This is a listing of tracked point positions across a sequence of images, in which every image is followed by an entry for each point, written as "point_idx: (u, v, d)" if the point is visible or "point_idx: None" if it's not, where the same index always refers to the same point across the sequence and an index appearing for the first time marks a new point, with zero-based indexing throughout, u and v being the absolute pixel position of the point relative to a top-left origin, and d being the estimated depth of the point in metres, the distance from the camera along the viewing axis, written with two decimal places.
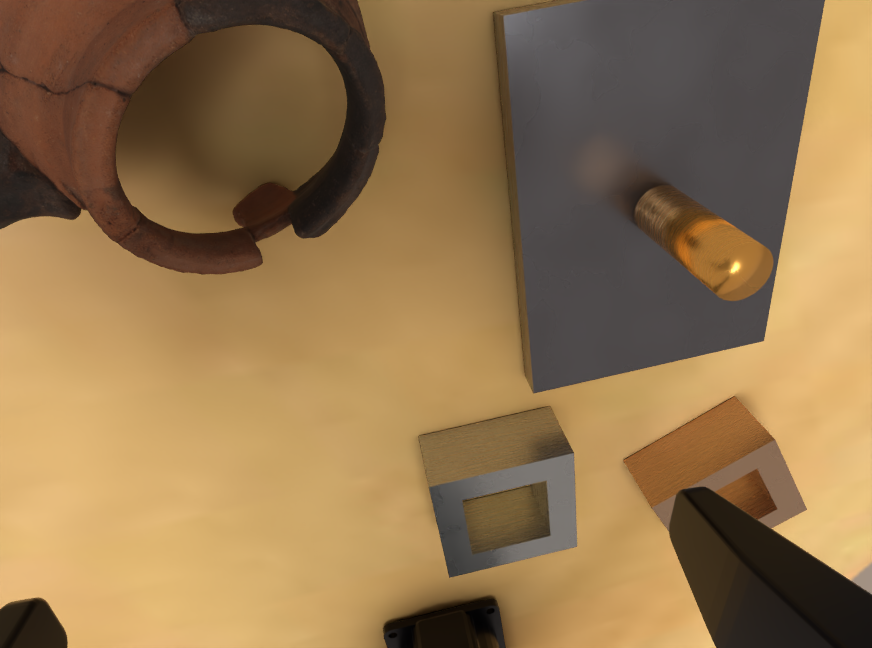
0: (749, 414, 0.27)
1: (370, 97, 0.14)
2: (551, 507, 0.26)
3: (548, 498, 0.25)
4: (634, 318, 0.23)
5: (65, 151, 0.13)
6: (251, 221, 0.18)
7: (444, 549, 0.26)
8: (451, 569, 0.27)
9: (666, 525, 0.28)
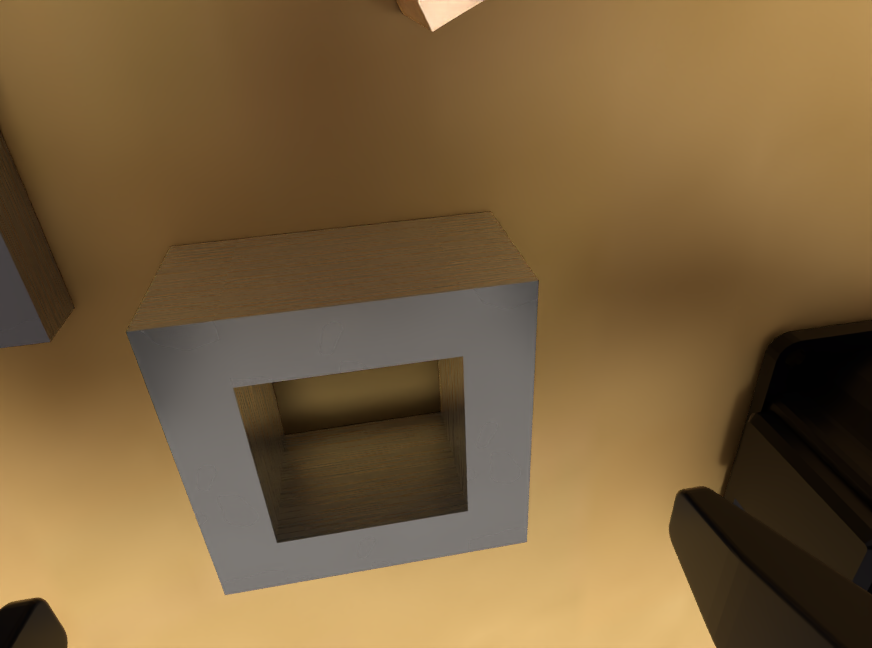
0: None
1: None
2: (344, 366, 0.09)
3: (309, 374, 0.09)
4: None
5: None
6: None
7: (429, 556, 0.12)
8: (499, 541, 0.12)
9: None
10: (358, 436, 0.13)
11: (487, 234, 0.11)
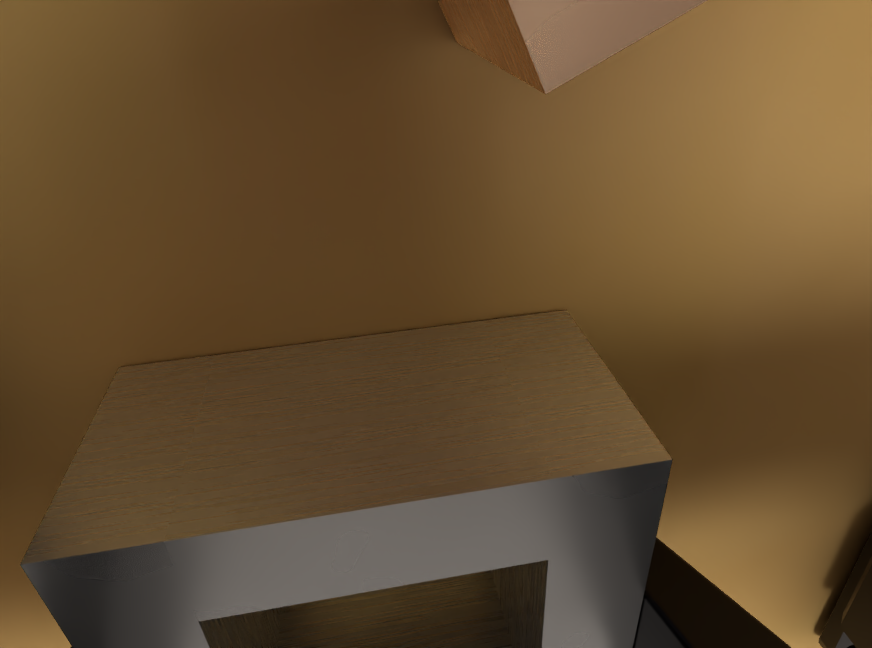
0: None
1: None
2: (370, 585, 0.06)
3: (316, 596, 0.06)
4: None
5: None
6: None
7: None
8: None
9: None
10: None
11: (571, 355, 0.07)
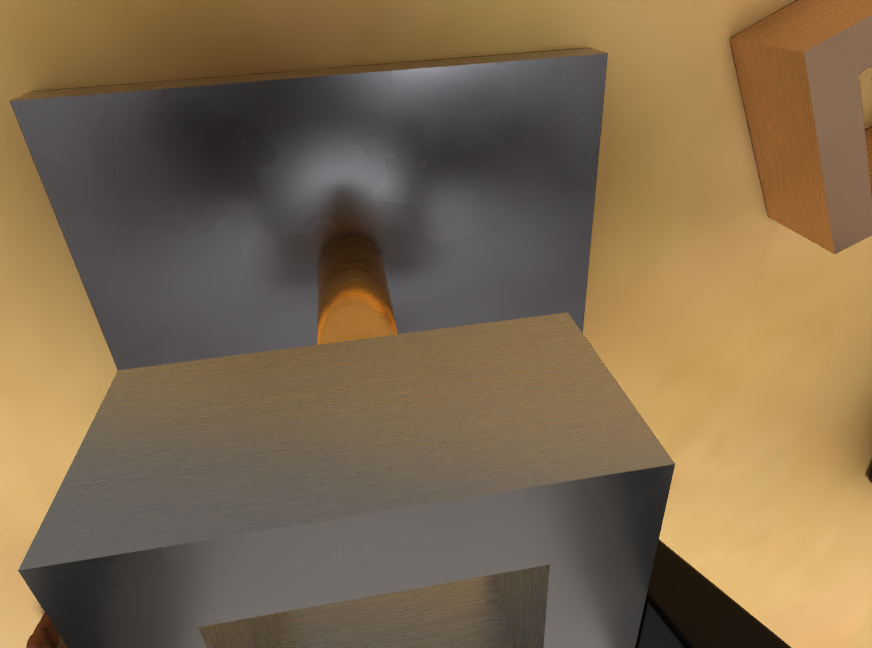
0: (758, 45, 0.15)
1: None
2: (371, 588, 0.06)
3: (316, 601, 0.06)
4: (504, 272, 0.18)
5: None
6: None
7: None
8: None
9: None
10: None
11: (572, 358, 0.07)
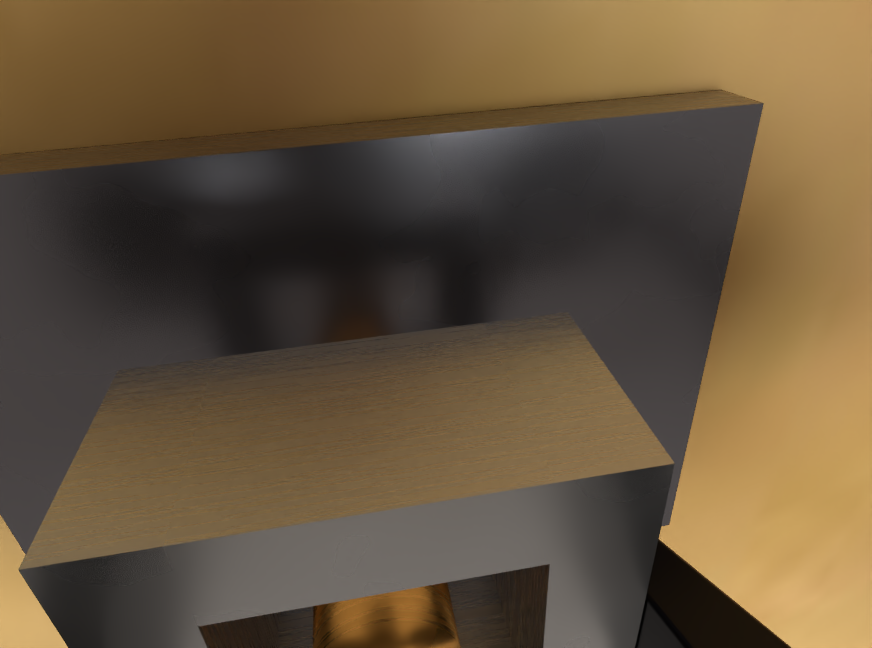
0: None
1: None
2: (370, 589, 0.06)
3: (316, 600, 0.06)
4: None
5: None
6: None
7: None
8: None
9: None
10: None
11: (572, 357, 0.07)
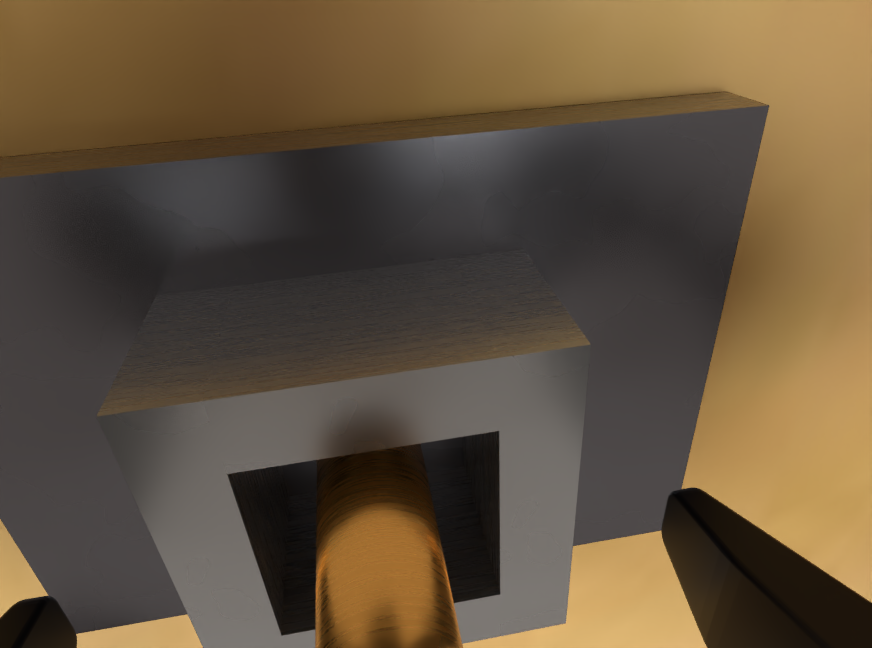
0: None
1: None
2: (360, 446, 0.08)
3: (317, 456, 0.08)
4: None
5: None
6: None
7: None
8: (535, 624, 0.11)
9: None
10: None
11: (522, 280, 0.09)
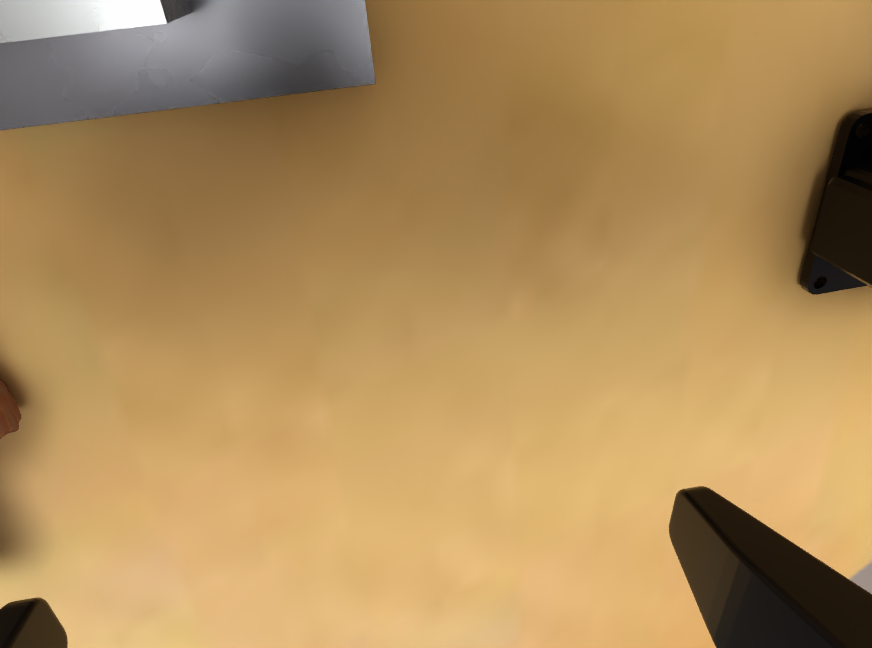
0: None
1: None
2: None
3: None
4: None
5: None
6: None
7: (52, 33, 0.11)
8: (132, 18, 0.11)
9: None
10: None
11: None
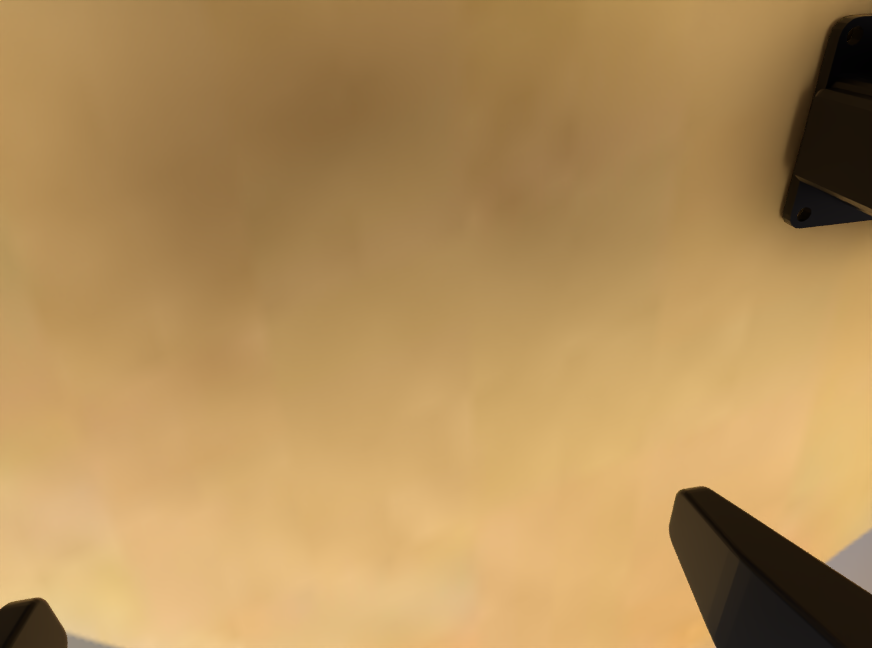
0: None
1: None
2: None
3: None
4: None
5: None
6: None
7: None
8: None
9: None
10: None
11: None
